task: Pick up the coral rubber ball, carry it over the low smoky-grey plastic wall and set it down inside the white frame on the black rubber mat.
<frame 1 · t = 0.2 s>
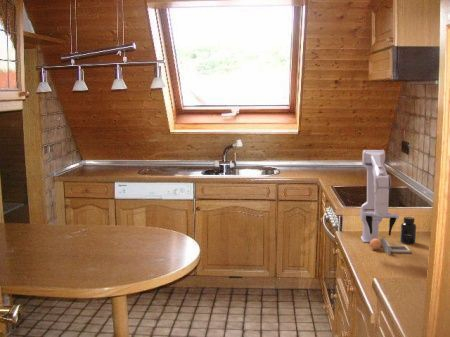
hand: (380, 234, 225), 10 cm above the table, tool pointing down, fingers open, 7 cm apart
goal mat: (398, 249, 235), on the table
supplement bottle: (407, 243, 247), on the table
coral ball: (375, 244, 236), point 2 cm above the table
grey wall: (385, 249, 236), on the table
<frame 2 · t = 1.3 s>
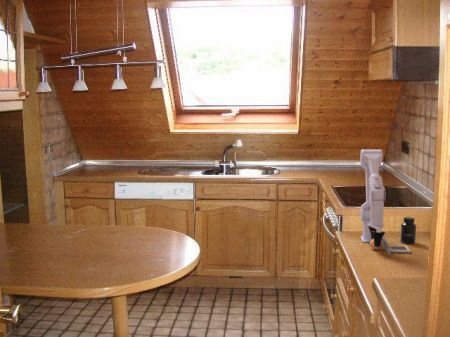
hand: (375, 244, 236), 2 cm above the table, tool pointing down, fingers open, 7 cm apart
nothing on the table moved.
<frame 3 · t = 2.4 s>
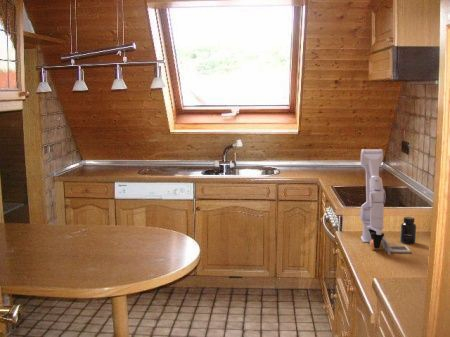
hand: (375, 246, 236), 1 cm above the table, tool pointing down, fingers closed on coral ball, 5 cm apart
coral ball: (375, 244, 236), point 2 cm above the table, touching gripper
everything else where it was.
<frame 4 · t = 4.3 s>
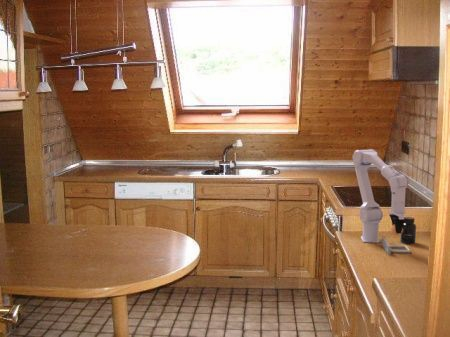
hand: (397, 231, 234), 8 cm above the table, tool pointing down, fingers closed on coral ball, 5 cm apart
coral ball: (397, 229, 234), point 10 cm above the table, touching gripper
everything else where it was.
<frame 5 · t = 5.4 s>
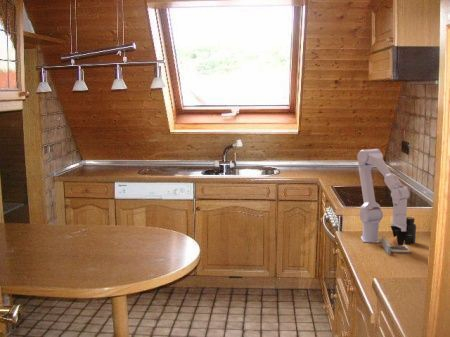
hand: (398, 243, 235), 3 cm above the table, tool pointing down, fingers closed on coral ball, 5 cm apart
coral ball: (398, 240, 234), point 4 cm above the table, touching gripper
everything else where it was.
when the fingers open (3 cm above the table, at t = 6.3 s): coral ball drops 1 cm, resting on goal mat.
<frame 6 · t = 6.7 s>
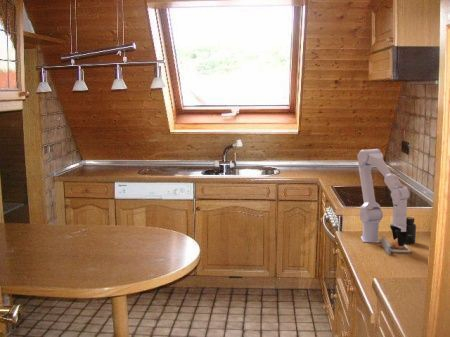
hand: (398, 243, 235), 3 cm above the table, tool pointing down, fingers open, 7 cm apart
coral ball: (398, 243, 235), point 3 cm above the table, touching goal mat
everything else where it was.
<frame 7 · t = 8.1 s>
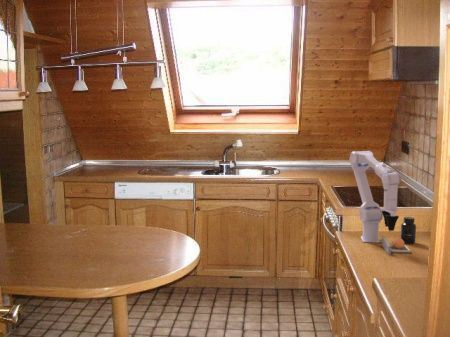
hand: (389, 228, 236), 9 cm above the table, tool pointing down, fingers open, 7 cm apart
nothing on the table moved.
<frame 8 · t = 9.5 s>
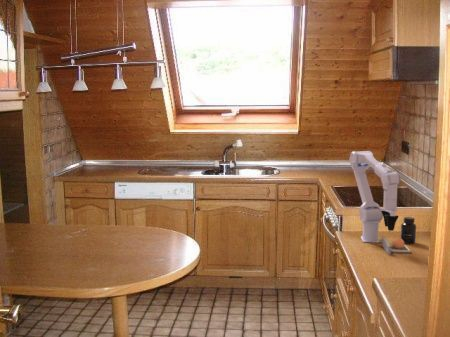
hand: (389, 228, 236), 9 cm above the table, tool pointing down, fingers open, 7 cm apart
nothing on the table moved.
at the end: coral ball 0.0 cm off-centre on the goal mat, point 2.9 cm above the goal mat's base; the gripper is holding nothing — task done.
